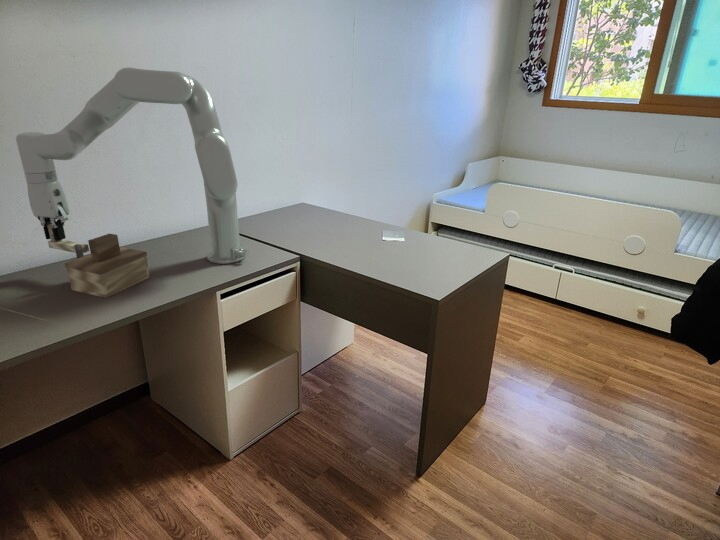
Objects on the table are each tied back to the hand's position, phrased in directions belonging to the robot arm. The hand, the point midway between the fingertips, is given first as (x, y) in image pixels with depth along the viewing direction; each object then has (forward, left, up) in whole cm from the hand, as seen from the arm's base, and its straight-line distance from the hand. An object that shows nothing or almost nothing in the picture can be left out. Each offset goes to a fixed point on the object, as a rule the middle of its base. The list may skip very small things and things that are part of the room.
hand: (55, 238), depth 140 cm
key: (-5, 0, -3) cm, 5 cm away
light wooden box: (-19, 0, -11) cm, 22 cm away
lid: (-20, 0, -4) cm, 20 cm away
